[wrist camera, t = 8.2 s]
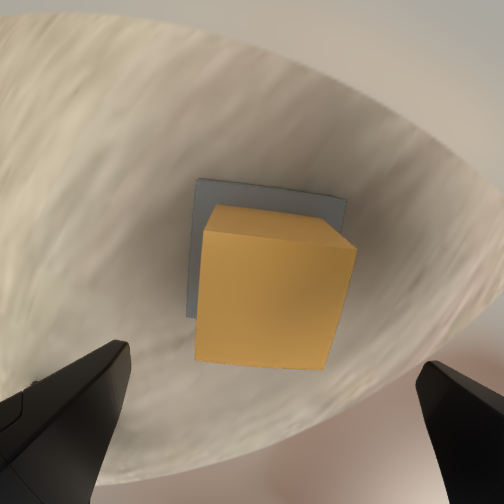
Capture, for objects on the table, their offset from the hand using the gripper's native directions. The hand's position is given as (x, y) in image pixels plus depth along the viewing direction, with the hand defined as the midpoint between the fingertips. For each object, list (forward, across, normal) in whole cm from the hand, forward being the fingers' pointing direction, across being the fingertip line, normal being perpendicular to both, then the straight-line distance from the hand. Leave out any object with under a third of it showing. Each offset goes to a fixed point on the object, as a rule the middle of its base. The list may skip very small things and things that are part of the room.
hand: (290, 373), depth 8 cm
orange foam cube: (+9, 0, 0) cm, 9 cm away
